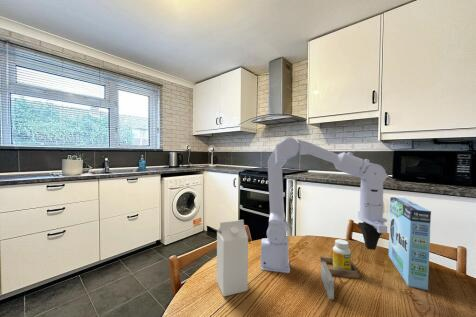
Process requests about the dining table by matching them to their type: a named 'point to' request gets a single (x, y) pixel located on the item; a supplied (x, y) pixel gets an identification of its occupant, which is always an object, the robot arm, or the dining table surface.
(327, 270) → the locking bar
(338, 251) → the supplement bottle
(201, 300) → the dining table surface
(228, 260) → the milk carton
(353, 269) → the brown u-shaped frame
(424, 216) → the gum box
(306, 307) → the dining table surface
